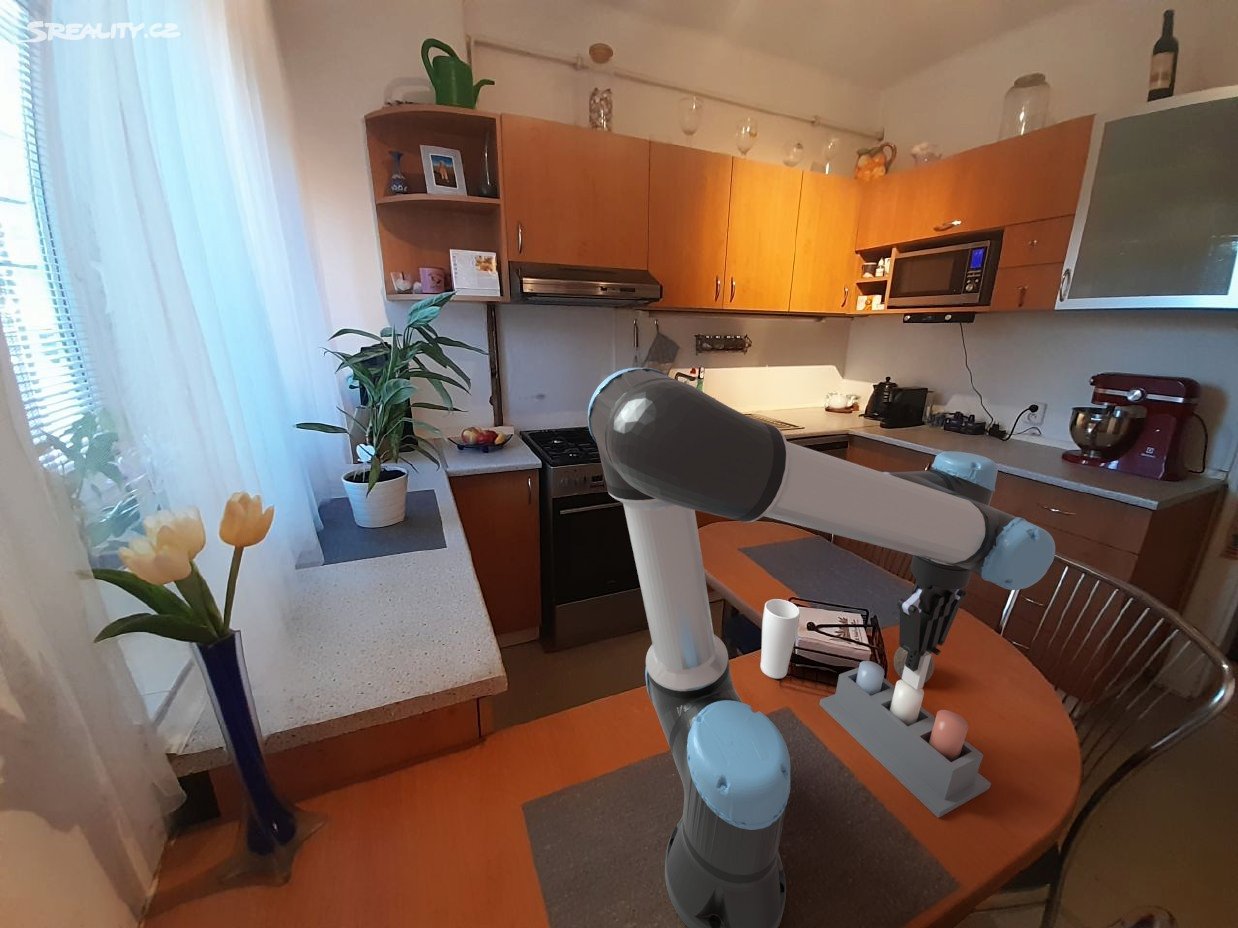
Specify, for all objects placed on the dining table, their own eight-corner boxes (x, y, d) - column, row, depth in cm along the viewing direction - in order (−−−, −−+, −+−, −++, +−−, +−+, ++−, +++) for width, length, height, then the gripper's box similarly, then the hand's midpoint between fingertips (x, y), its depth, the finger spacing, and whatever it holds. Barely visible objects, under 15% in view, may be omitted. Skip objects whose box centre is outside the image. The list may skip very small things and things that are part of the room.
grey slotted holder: (938, 818, 70) (949, 782, 68) (819, 704, 90) (824, 674, 88) (989, 788, 75) (1000, 754, 73) (865, 686, 95) (871, 657, 93)
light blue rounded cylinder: (866, 711, 85) (873, 679, 83) (848, 695, 89) (854, 664, 87) (882, 704, 87) (889, 672, 85) (863, 689, 90) (870, 658, 88)
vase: (927, 695, 93) (937, 658, 91) (888, 679, 97) (896, 643, 95) (931, 675, 98) (941, 639, 96) (893, 660, 102) (902, 626, 100)
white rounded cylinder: (904, 734, 79) (912, 700, 77) (882, 716, 82) (890, 683, 80) (920, 727, 80) (929, 693, 78) (898, 709, 84) (907, 676, 82)
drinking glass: (795, 683, 95) (805, 619, 91) (761, 682, 96) (769, 618, 91) (784, 659, 102) (793, 598, 97) (752, 658, 102) (760, 597, 98)
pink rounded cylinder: (946, 770, 73) (957, 734, 70) (921, 749, 76) (930, 714, 74) (963, 761, 74) (974, 726, 72) (938, 741, 78) (947, 706, 75)
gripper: (939, 575, 66) (905, 711, 73) (997, 558, 71) (960, 687, 78) (890, 551, 72) (864, 678, 80) (947, 537, 77) (917, 657, 85)
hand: (912, 682), depth 79 cm, fingers closed
